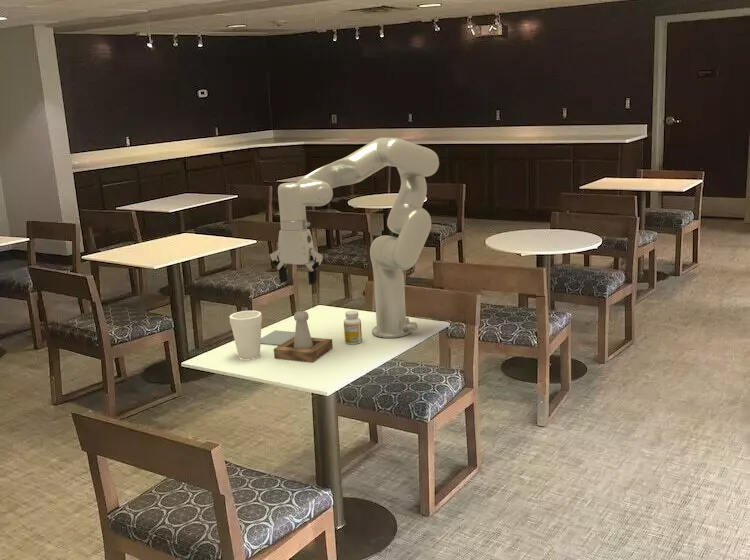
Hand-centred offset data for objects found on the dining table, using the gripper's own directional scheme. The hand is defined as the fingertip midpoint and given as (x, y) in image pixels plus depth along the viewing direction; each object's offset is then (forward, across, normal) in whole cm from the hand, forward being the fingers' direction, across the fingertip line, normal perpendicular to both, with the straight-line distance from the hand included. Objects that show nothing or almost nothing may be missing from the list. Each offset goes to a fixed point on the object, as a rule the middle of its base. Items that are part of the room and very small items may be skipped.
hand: (298, 282), depth 226 cm
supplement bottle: (+22, -10, -14) cm, 28 cm away
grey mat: (+22, +14, -11) cm, 28 cm away
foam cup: (+22, +15, +7) cm, 28 cm away
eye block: (+22, 0, 0) cm, 22 cm away
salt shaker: (+22, 0, 0) cm, 22 cm away
